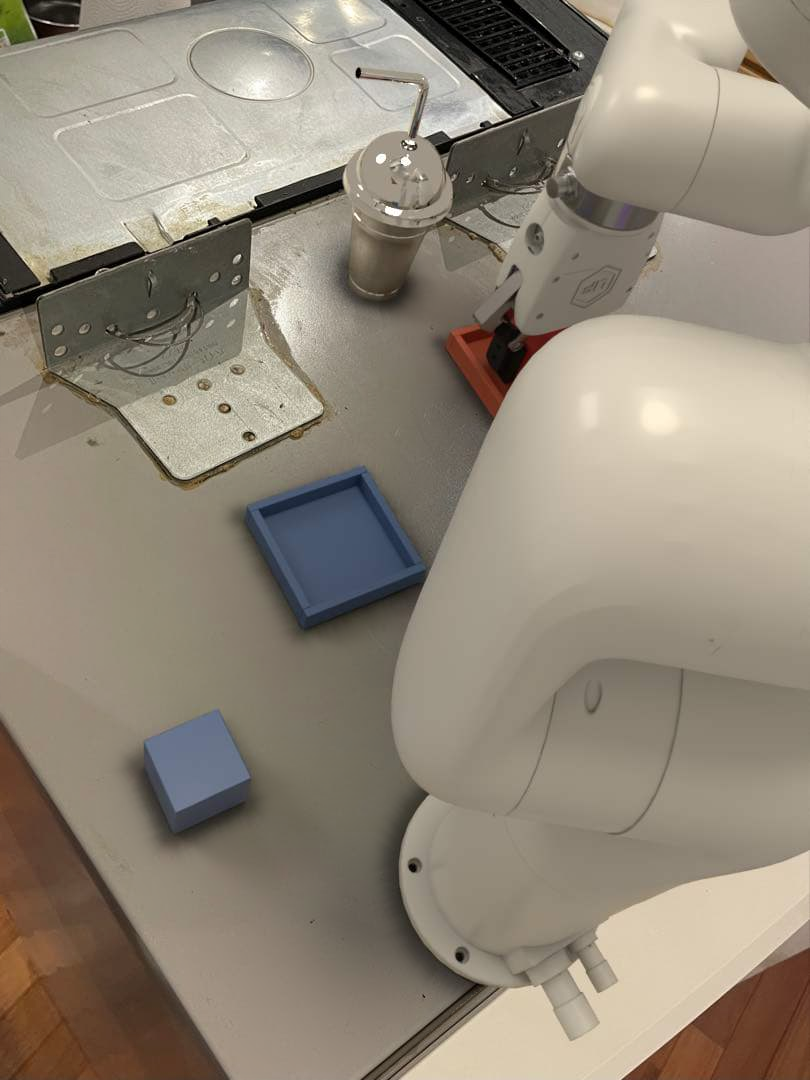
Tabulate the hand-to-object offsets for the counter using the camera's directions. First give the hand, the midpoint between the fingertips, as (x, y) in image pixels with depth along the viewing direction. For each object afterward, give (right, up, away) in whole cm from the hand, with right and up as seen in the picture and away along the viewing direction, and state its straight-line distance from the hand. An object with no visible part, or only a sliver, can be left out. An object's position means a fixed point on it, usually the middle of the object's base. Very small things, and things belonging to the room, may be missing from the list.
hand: (525, 360), depth 80 cm
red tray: (0, -1, +1) cm, 2 cm away
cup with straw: (-13, +7, +3) cm, 15 cm away
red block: (0, 0, 0) cm, 0 cm away
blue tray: (-15, -15, -11) cm, 24 cm away
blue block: (-22, -29, -21) cm, 42 cm away
